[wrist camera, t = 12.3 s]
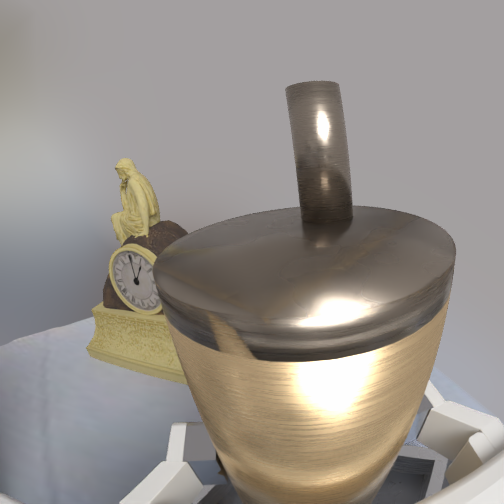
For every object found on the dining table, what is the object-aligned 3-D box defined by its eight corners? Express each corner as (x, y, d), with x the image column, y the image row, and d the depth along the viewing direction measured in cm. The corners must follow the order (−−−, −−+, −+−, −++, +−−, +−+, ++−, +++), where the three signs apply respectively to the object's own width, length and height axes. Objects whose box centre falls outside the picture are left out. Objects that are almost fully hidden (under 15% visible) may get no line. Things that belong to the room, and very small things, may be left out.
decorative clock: (90, 356, 42) (34, 185, 33) (131, 320, 54) (92, 170, 44) (238, 395, 33) (188, 133, 23) (266, 337, 44) (239, 135, 35)
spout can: (336, 562, 6) (456, -32, 1) (227, 521, 9) (63, 115, 4) (381, 472, 10) (435, 90, 5) (285, 446, 13) (242, 111, 8)
